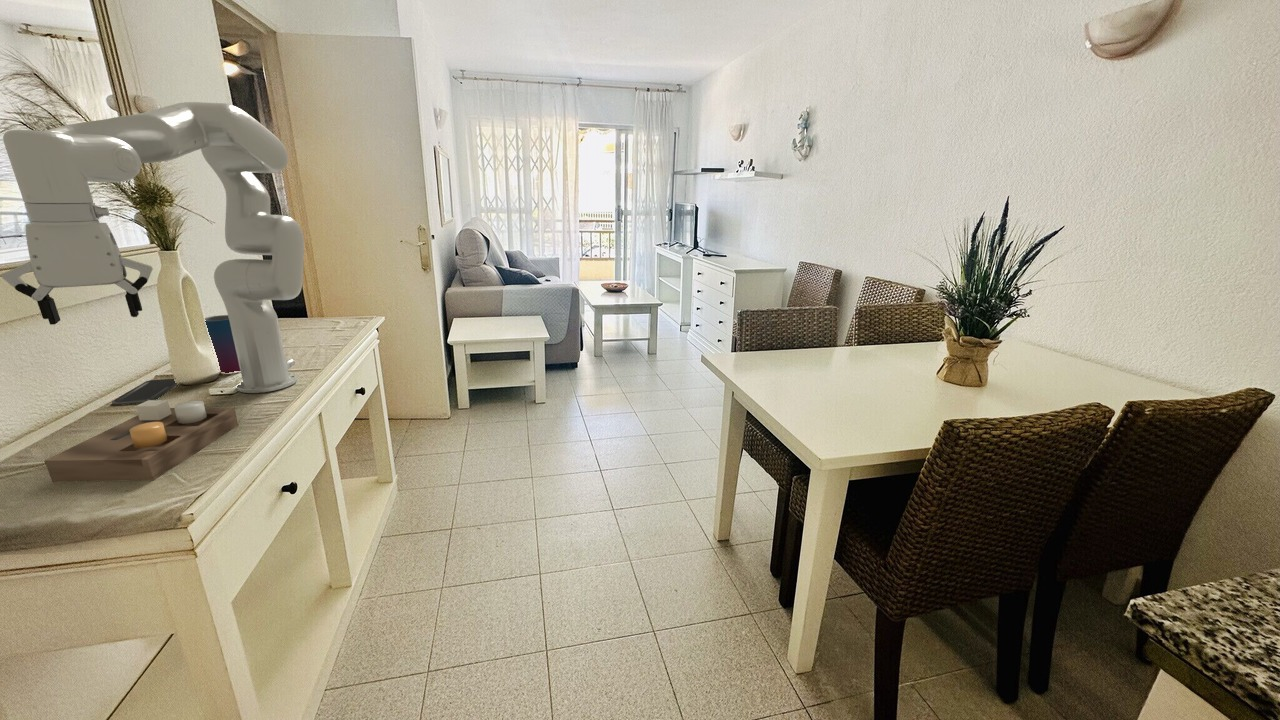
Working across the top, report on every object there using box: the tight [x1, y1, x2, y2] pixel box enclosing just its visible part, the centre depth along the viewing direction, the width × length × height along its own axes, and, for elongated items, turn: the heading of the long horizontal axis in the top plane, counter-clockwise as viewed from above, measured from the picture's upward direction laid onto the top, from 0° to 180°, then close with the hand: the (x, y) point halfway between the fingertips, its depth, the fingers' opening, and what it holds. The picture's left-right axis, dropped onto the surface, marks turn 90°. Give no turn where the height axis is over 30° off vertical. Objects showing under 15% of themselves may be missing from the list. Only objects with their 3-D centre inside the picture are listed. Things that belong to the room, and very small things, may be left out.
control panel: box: [44, 407, 239, 483], centre depth 97 cm, size 22×16×4 cm
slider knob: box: [135, 399, 172, 420], centre depth 102 cm, size 3×4×3 cm
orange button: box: [129, 422, 167, 448], centre depth 92 cm, size 4×4×3 cm
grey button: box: [173, 400, 207, 424], centre depth 101 cm, size 4×4×3 cm
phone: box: [111, 378, 178, 406], centre depth 124 cm, size 8×1×15 cm
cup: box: [204, 314, 241, 373], centre depth 137 cm, size 7×7×15 cm
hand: (96, 319), depth 88 cm, fingers open, 9 cm apart
